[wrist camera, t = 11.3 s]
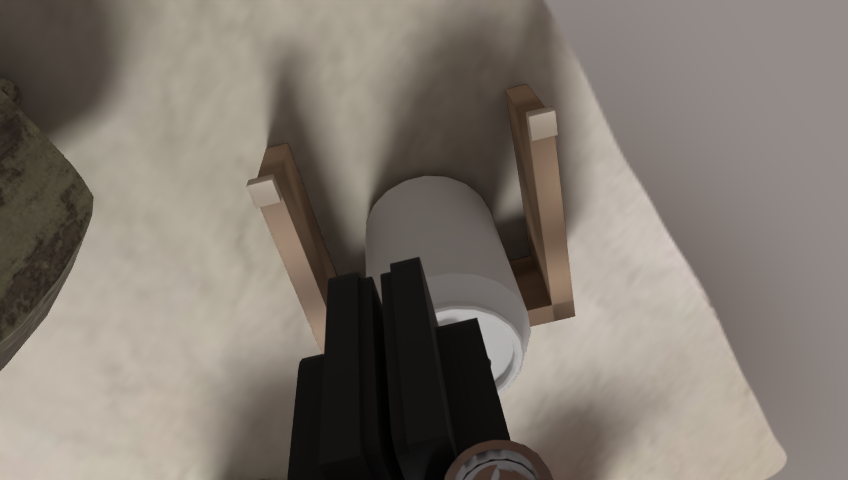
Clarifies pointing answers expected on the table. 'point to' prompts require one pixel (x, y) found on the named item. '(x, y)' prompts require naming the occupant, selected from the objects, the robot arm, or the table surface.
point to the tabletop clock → (34, 222)
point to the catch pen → (535, 275)
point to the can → (453, 262)
